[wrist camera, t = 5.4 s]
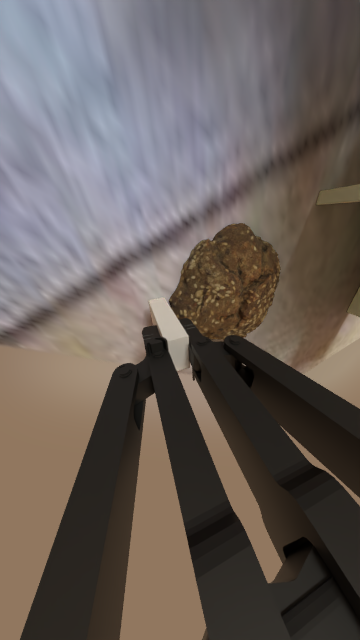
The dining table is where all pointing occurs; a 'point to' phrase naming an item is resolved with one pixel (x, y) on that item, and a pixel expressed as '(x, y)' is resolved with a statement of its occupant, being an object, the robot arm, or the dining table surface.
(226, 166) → the dining table surface
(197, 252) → the bread roll
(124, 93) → the dining table surface
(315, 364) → the dining table surface
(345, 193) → the pale green angled panels
